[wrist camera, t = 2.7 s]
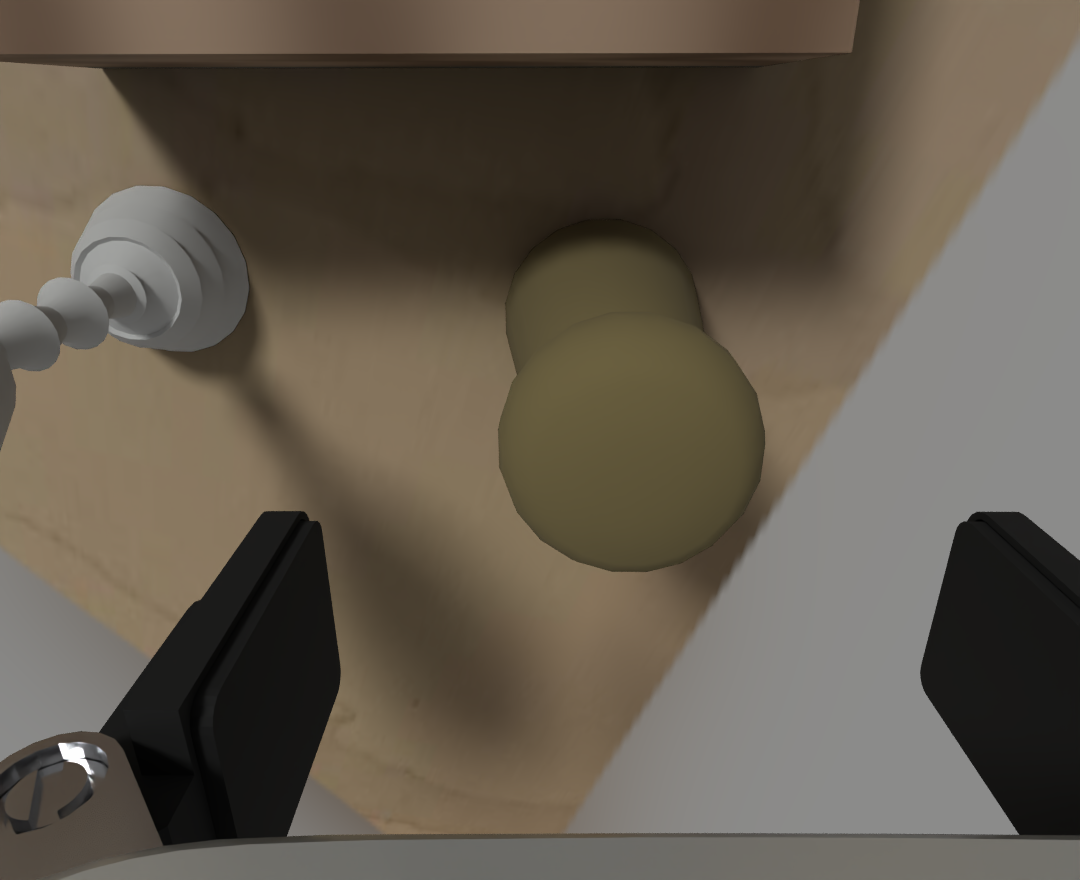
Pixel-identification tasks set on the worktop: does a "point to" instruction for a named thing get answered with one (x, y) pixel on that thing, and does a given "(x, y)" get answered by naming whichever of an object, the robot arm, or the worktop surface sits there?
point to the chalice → (131, 286)
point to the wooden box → (423, 33)
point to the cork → (622, 404)
